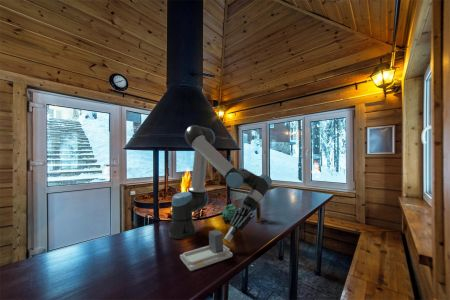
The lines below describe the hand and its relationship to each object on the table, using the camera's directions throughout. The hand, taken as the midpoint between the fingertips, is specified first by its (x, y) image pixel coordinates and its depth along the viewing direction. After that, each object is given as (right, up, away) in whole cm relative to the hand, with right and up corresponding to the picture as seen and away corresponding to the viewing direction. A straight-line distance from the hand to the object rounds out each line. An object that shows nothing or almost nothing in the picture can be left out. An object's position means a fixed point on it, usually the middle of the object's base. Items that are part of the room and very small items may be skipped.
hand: (226, 240), depth 93 cm
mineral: (+3, -7, +47) cm, 47 cm away
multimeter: (+26, -7, +42) cm, 50 cm away
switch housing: (-9, -5, -6) cm, 12 cm away
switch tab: (-5, -3, -3) cm, 7 cm away
